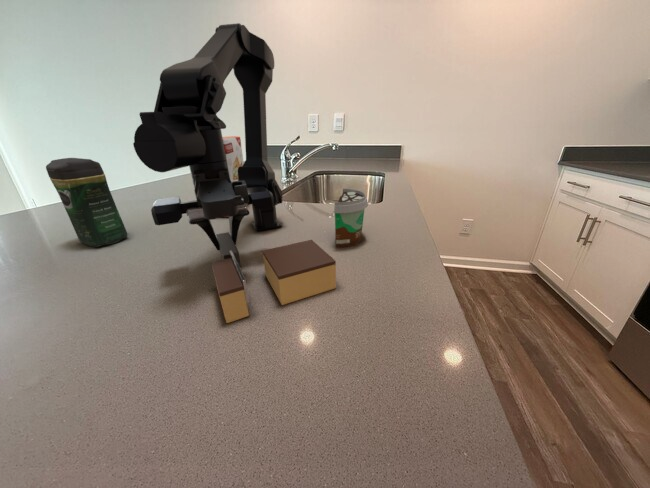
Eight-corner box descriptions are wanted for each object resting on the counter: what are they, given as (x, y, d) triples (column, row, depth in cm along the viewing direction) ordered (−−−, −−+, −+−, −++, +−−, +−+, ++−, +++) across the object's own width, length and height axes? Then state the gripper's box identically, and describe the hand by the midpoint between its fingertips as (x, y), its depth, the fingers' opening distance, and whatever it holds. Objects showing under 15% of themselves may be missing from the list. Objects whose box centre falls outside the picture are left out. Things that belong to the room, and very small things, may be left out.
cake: (265, 276, 45) (262, 250, 43) (312, 263, 48) (311, 239, 46) (281, 305, 37) (278, 276, 35) (336, 288, 41) (335, 260, 39)
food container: (364, 251, 52) (366, 204, 48) (334, 249, 53) (334, 203, 49) (367, 229, 63) (369, 188, 59) (342, 227, 64) (343, 187, 60)
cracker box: (237, 217, 73) (223, 138, 64) (216, 218, 73) (199, 138, 64) (251, 203, 86) (240, 135, 77) (233, 203, 86) (220, 136, 77)
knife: (218, 248, 50) (214, 231, 49) (231, 245, 51) (228, 229, 50) (239, 305, 34) (234, 283, 33) (257, 300, 35) (253, 278, 34)
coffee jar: (135, 237, 62) (104, 156, 54) (96, 250, 56) (56, 161, 48) (113, 231, 66) (81, 155, 58) (75, 243, 60) (34, 159, 52)
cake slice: (217, 289, 42) (210, 262, 39) (236, 283, 43) (231, 257, 41) (226, 323, 34) (219, 292, 32) (249, 316, 36) (243, 285, 33)
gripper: (129, 175, 31) (167, 283, 38) (279, 161, 38) (288, 254, 45) (141, 164, 40) (170, 252, 47) (260, 154, 47) (270, 232, 54)
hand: (226, 248), depth 48 cm, fingers closed on knife, 2 cm apart
